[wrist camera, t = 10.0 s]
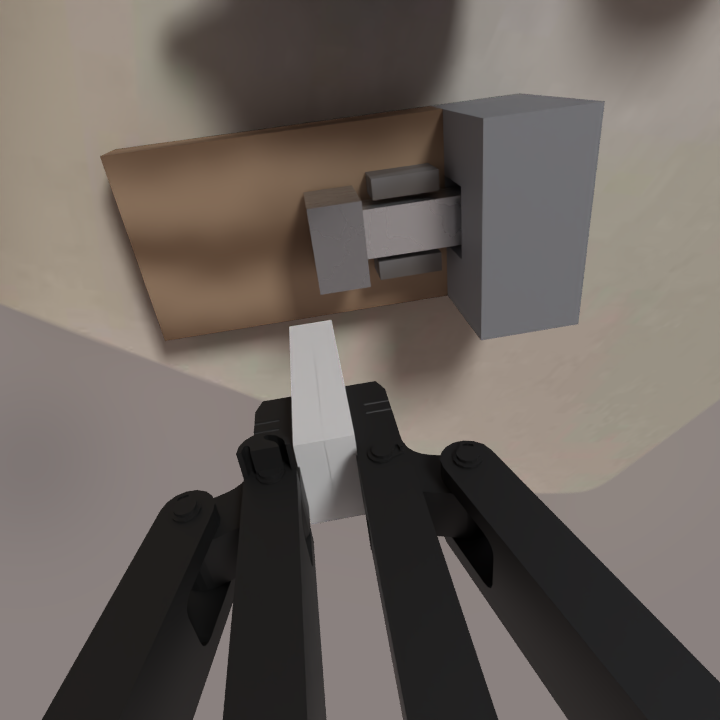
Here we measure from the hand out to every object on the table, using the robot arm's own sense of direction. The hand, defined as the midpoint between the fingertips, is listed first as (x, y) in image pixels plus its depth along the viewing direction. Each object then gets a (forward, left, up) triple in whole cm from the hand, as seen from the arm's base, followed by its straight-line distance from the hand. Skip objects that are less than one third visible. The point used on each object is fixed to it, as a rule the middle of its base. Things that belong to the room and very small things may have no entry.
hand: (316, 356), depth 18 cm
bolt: (0, +7, -16) cm, 18 cm away
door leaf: (0, -1, -19) cm, 19 cm away
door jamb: (0, +12, -19) cm, 23 cm away
